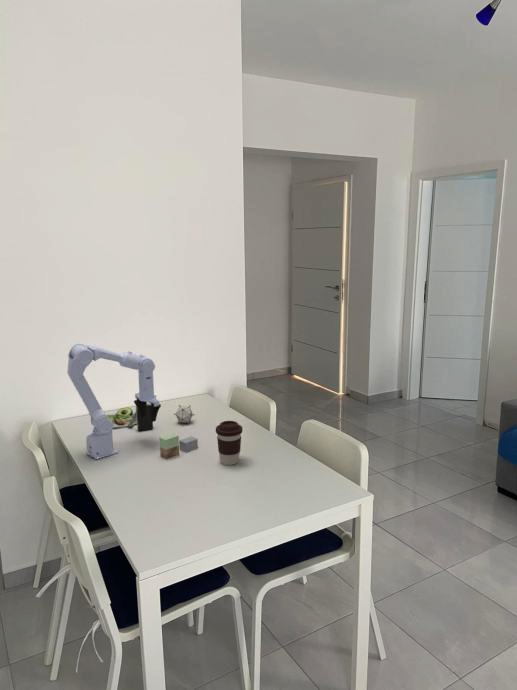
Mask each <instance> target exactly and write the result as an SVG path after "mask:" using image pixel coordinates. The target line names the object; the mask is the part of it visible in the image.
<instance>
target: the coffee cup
mask: <svg viewBox="0 0 517 690" xmlns="http://www.w3.org/2000/svg"><path fill="white" fill-rule="evenodd" d="M242 433H243V426H242V425H241V424H239V423H238V421H235V420H225V421H221V422H220V423H219V424H218V425H216V427H215V434H217V438H216V439H217V451H218V454H219V461H220V463H221V464H223V465H227V466H232V465H236V464H238V462H239V461H240V452H241V448H242V447H241V445H242V435H241V434H242Z"/></svg>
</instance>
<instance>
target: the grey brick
mask: <svg viewBox="0 0 517 690" xmlns="http://www.w3.org/2000/svg"><path fill="white" fill-rule="evenodd" d="M196 448H197V449H198V448H199V445H198V438H196V437H194V436H192V435H191V436H189V437H185V438H182V439H180V440H179V451H182V452H184V453H188V452H190V450H191V451H193V449H194V450H196Z"/></svg>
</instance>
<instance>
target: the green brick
mask: <svg viewBox="0 0 517 690" xmlns="http://www.w3.org/2000/svg"><path fill="white" fill-rule="evenodd" d="M179 439H180V436H179V435H178V434H176V433H174V432H171V433H168V434H165V435H162V436H159V448H160V447H161V448H163V449H165V450H167V449H170V448H173V447H176V446H179Z"/></svg>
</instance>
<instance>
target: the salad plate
mask: <svg viewBox="0 0 517 690" xmlns="http://www.w3.org/2000/svg"><path fill="white" fill-rule="evenodd" d="M106 416H107V417H108V418H109V419H111V420H112V422H113V430H114V429H124V428H130V427H132V426H133V427H134V426H135V425H137V417H136V411H135V412H134V411H133V409H132V408H131V407H127V406H126V407H122V408H120V409H117V412H116V413H111V414H106ZM115 424H116V425H115Z"/></svg>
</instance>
